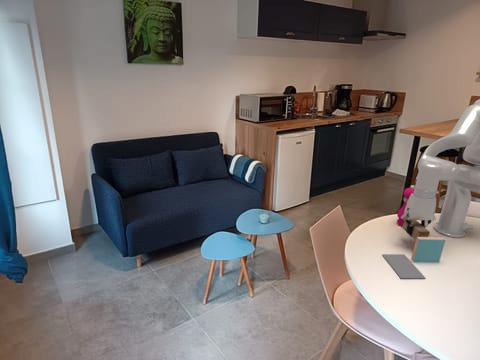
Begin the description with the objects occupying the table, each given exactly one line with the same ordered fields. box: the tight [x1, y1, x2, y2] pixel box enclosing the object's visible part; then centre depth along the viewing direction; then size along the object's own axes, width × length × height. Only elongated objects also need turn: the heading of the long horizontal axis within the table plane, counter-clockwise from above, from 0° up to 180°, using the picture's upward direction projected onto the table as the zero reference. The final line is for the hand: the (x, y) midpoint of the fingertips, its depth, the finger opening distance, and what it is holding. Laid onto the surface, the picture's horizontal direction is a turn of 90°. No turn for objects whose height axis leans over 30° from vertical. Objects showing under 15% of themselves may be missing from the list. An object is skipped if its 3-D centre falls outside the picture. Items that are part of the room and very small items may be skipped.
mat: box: [381, 253, 426, 280], centre depth 124 cm, size 9×15×1 cm, turn 2°
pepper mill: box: [396, 184, 415, 228], centre depth 153 cm, size 7×7×20 cm
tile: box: [410, 236, 446, 263], centre depth 126 cm, size 2×10×10 cm, turn 92°
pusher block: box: [401, 218, 431, 242], centre depth 135 cm, size 12×4×5 cm, turn 2°
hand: (414, 233), depth 136 cm, fingers closed on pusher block, 4 cm apart
